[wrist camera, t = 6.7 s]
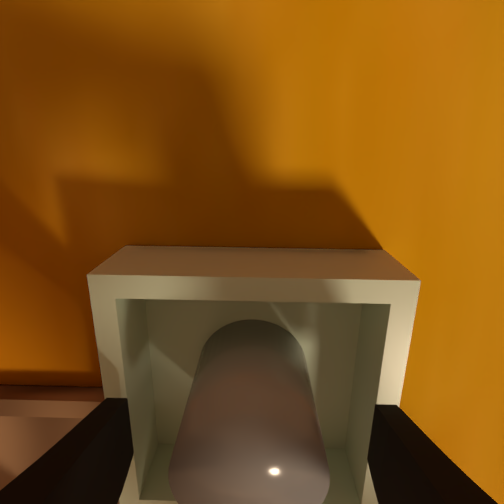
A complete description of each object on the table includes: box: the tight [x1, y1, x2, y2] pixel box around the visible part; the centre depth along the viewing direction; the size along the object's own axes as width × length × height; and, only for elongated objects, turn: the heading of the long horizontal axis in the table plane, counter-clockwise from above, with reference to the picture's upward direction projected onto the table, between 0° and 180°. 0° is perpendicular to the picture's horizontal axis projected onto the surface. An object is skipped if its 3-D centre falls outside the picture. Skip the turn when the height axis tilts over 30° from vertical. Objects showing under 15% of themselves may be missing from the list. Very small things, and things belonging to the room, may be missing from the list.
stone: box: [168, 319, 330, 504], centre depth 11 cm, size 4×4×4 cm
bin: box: [87, 245, 421, 504], centre depth 12 cm, size 9×9×3 cm
